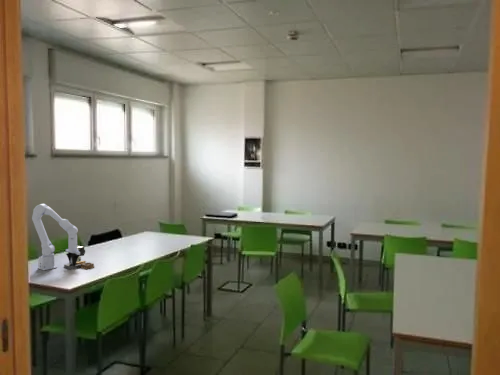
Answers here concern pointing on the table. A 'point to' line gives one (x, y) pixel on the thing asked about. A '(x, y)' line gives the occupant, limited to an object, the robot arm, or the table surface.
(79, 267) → the socket block
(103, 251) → the table surface
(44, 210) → the robot arm
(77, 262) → the drift key
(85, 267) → the rack
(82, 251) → the pneumatic valve
